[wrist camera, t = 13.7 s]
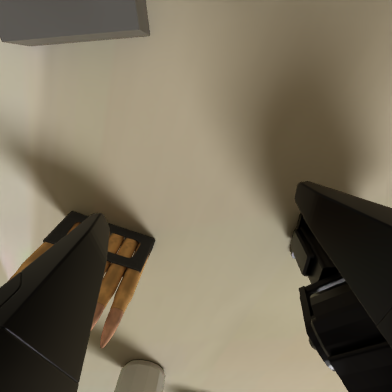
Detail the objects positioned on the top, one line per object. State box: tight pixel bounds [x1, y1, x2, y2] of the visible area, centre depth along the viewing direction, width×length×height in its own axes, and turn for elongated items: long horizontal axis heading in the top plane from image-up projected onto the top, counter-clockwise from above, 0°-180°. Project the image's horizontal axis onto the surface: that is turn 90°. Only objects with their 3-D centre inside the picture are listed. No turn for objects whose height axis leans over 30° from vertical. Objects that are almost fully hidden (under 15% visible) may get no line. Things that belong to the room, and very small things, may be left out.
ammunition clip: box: [10, 211, 155, 348], centre depth 21 cm, size 11×2×12 cm, turn 70°
